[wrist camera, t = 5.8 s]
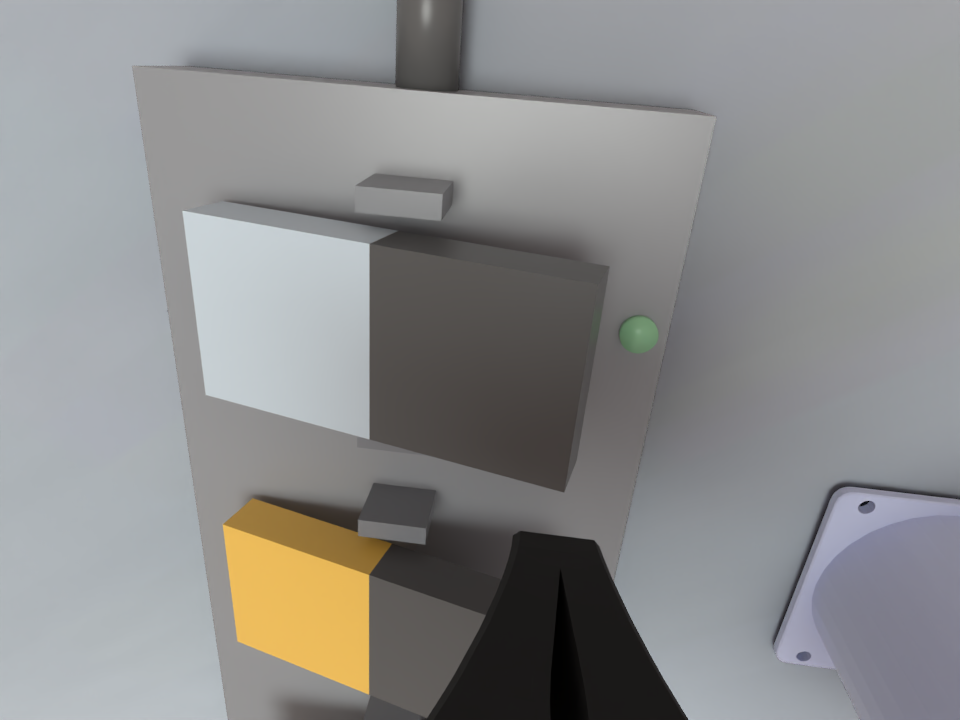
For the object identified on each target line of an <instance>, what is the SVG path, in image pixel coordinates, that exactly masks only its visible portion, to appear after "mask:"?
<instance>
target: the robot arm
mask: <svg viewBox="0 0 960 720" xmlns="http://www.w3.org/2000/svg"><path fill="white" fill-rule="evenodd" d="M864 501H869V502H868V504H866V505H864V506H859V505H860V504H861V503H862V502H864ZM773 649H774V652H775V654H776V656H777V658H778V659H779V660H780V661H782V662H785V663H791V664H799V665H806V666H814V667H821V668H829V669H836V670H837V673H838V675H839V677H840V679H841V681H842V683H843V685H844V687H845V689H846V691H847V694H848V696H849V698H850V700H851V702H852V704H853V706H854V708H855V710H856V712H857V714H858V717H859V719H860V720H960V500H959V499H951V498H943V497H934V496H926V495H917V494H909V493H900V492H892V491H883V490H875V489H867V488H858V487H844V488H841V489H839V490H837V491H836V492H834V494H833V495H832V497H831V499H830V502H829V504H828V507H827V510H826V512H825V515H824V517H823V520H822V522H821V525H820V528H819V530H818V533H817V535H816V538H815V540H814V543H813V546H812V548H811V551H810V553H809V556H808V558H807V561H806V563H805V566H804V569H803V571H802V574H801V576H800V579H799V581H798V584H797V587H796V589H795V592H794V594H793V597H792V599H791V602H790V605H789V607H788V610H787V612H786V615H785V617H784V620H783V623H782V625H781V628H780V630H779V633H778V635H777V638H776V640H775V643H774V647H773ZM803 651H804V652H803ZM426 720H688V718H687V717H686V715H685V713H684V712H683V710H682V709H681V707H680V705H679V704H678V702H677V700H676V699H675V697H674V695H673V694H672V692H671V690H670V689H669V687H668V685H667V684H666V682H665V680H664V679H663V677H662V675H661V673H660V672H659V670H658V668H657V666H656V665H655V663H654V661H653V659H652V657H651V656H650V654H649V652H648V650H647V648H646V646H645V644H644V642H643V641H642V639H641V637H640V635H639V633H638V631H637V629H636V627H635V625H634V624H633V622H632V620H631V618H630V616H629V613H628V611H627V609H626V607H625V605H624V603H623V601H622V599H621V597H620V595H619V592H618V590H617V588H616V586H615V584H614V581H613V579H612V577H611V574H610V572H609V570H608V567H607V565H606V562H605V560H604V557H603V555H602V552H601V549H600V546H599V545H598V544H597V543H596V542H595V540H590V539H582V538H574V537H566V536H558V535H550V534H542V533H534V532H527V531H519V532H518V533H516V534H514V535H513V538H512V546H511V550H510V554H509V558H508V562H507V565H506V568H505V571H504V574H503V576H502V579H501V581H500V584H499V587H498V589H497V592H496V594H495V596H494V598H493V600H492V603H491V605H490V607H489V609H488V611H487V613H486V616H485V618H484V620H483V622H482V624H481V626H480V628H479V630H478V632H477V634H476V636H475V638H474V640H473V642H472V643H471V645H470V647H469V649H468V651H467V652H466V654H465V656H464V658H463V660H462V662H461V663H460V665H459V667H458V669H457V671H456V672H455V674H454V676H453V678H452V679H451V681H450V682H449V684H448V686H447V687H446V689H445V691H444V692H443V694H442V696H441V697H440V699H439V700H438V702H437V703H436V705H435V707H434V708H433V710H432V711H431V713H430V714H429V716H428V717H427V719H426Z"/></svg>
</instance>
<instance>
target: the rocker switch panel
mask: <svg viewBox="0 0 960 720" xmlns="http://www.w3.org/2000/svg"><path fill="white" fill-rule="evenodd" d="M462 12H463V0H397V24H396V84H388V83H377V82H365V81H354V80H342V79H331V78H319V77H307V76H296V75H284V74H273V73H261V72H250V71H238V70H227V69H215V68H203V67H192V66H132V68H133V75H134V82H135V89H136V96H137V102H138V109H139V116H140V123H141V130H142V137H143V143H144V150H145V157H146V164H147V171H148V178H149V184H150V191H151V198H152V205H153V212H154V219H155V225H156V232H157V239H158V246H159V253H160V260H161V266H162V273H163V280H164V287H165V294H166V300H167V307H168V314H169V321H170V328H171V335H172V341H173V348H174V355H175V362H176V369H177V376H178V382H179V389H180V396H181V403H182V410H183V417H184V423H185V430H186V437H187V444H188V451H189V458H190V464H191V471H192V478H193V485H194V492H195V499H196V505H197V512H198V519H199V526H200V533H201V539H202V546H203V553H204V560H205V567H206V574H207V580H208V587H209V594H210V601H211V608H212V615H213V621H214V628H215V635H216V642H217V649H218V656H219V662H220V669H221V676H222V683H223V690H224V697H225V703H226V710H227V717H228V720H426V719H427V718H425V717H423V716H420V715H418V714H415V713H413V712H410V711H408V710H406V709H403V708H401V707H398V706H396V705H393V704H391V703H388V702H386V701H383V700H381V699H378V698H376V697H373V696H371V695H368V694H366V693H364V692H361V691H359V690H356V689H354V688H351V687H349V686H346V685H344V684H341V683H339V682H336V681H334V680H331V679H329V678H327V677H324V676H322V675H319V674H317V673H314V672H312V671H309V670H307V669H304V668H302V667H299V666H297V665H294V664H292V663H289V662H287V661H285V660H282V659H280V658H277V657H275V656H272V655H270V654H267V653H265V652H262V651H260V650H257V649H255V648H252V647H250V646H248V645H245V644H243V643H240V642H238V641H237V634H236V626H235V618H234V610H233V602H232V594H231V586H230V578H229V571H228V563H227V555H226V547H225V539H224V531H223V524H224V523H225V522H226V521H227V520H228V519H230V518H231V517H232V516H233V515H234V514H235V513H236V512H238V511H239V510H240V509H241V508H242V507H243V506H244V505H246V504H247V503H248V502H249V501H250V500H251V499H252V498H254V499H257V500H260V501H263V502H266V503H269V504H272V505H275V506H278V507H281V508H284V509H287V510H291V511H294V512H297V513H300V514H303V515H306V516H309V517H312V518H315V519H318V520H321V521H324V522H327V523H330V524H334V525H337V526H340V527H343V528H346V529H349V530H352V531H355V532H358V536H362V537H369V538H376V539H380V540H383V541H386V542H389V543H392V544H395V545H398V546H401V547H404V548H407V549H410V550H413V551H416V552H419V553H423V554H426V555H429V556H432V557H435V558H438V559H441V560H444V561H447V562H450V563H453V564H456V565H459V566H462V567H465V568H469V569H472V570H475V571H478V572H481V573H484V574H487V575H490V576H493V577H496V578H499V579H502V576H503V574H504V571H505V568H506V565H507V562H508V558H509V554H510V550H511V546H512V538H513V535H514V534H516V533H518V532H519V531H527V532H534V533H542V534H550V535H558V536H566V537H574V538H582V539H590V540H595V542H596V543H597V544H598V545H599V546H600V549H601V552H602V555H603V557H604V560H605V562H606V565H607V567H608V570H609V572H610V574H611V577H612V579H613V581H614V577H615V573H616V568H617V564H618V559H619V555H620V550H621V546H622V541H623V537H624V532H625V528H626V523H627V519H628V514H629V510H630V505H631V501H632V496H633V492H634V487H635V483H636V478H637V474H638V469H639V465H640V460H641V456H642V451H643V447H644V442H645V438H646V433H647V429H648V424H649V419H650V415H651V410H652V406H653V401H654V397H655V392H656V388H657V383H658V379H659V374H660V370H661V365H662V361H663V356H664V352H665V347H666V343H667V338H668V334H669V329H670V325H671V320H672V316H673V311H674V307H675V302H676V298H677V293H678V289H679V284H680V280H681V275H682V271H683V266H684V262H685V257H686V253H687V248H688V244H689V239H690V235H691V230H692V226H693V221H694V217H695V212H696V208H697V203H698V199H699V194H700V190H701V185H702V181H703V176H704V171H705V167H706V162H707V158H708V153H709V149H710V144H711V140H712V135H713V131H714V126H715V122H716V116H713V115H709V114H706V113H703V112H699V111H696V110H689V109H677V108H666V107H654V106H642V105H631V104H619V103H608V102H596V101H585V100H573V99H562V98H550V97H538V96H527V95H515V94H504V93H492V92H481V91H469V90H458V83H459V65H460V47H461V30H462ZM221 201H225V202H231V203H237V204H243V205H249V206H255V207H261V208H267V209H273V210H279V211H285V212H291V213H297V214H303V215H308V216H314V217H320V218H326V219H332V220H338V221H344V222H350V223H356V224H362V225H368V226H374V227H380V228H386V229H391V230H397V231H403V232H409V233H415V234H421V235H427V236H433V237H439V238H445V239H451V240H457V241H463V242H469V243H475V244H480V245H486V246H492V247H498V248H504V249H510V250H516V251H522V252H528V253H534V254H540V255H546V256H552V257H558V258H563V259H569V260H575V261H581V262H587V263H593V264H599V265H605V266H610V268H609V274H608V280H607V286H606V291H605V297H604V303H603V309H602V315H601V321H600V327H599V333H598V339H597V344H596V350H595V356H594V362H593V368H592V374H591V380H590V386H589V392H588V397H587V403H586V409H585V415H584V421H583V427H582V433H581V439H580V445H579V450H578V456H577V461H576V464H575V467H574V469H573V472H572V474H571V477H570V479H569V482H568V485H567V487H566V490H565V492H560V491H556V490H553V489H549V488H545V487H542V486H538V485H534V484H531V483H527V482H523V481H520V480H516V479H512V478H509V477H505V476H501V475H498V474H494V473H490V472H487V471H483V470H479V469H476V468H472V467H468V466H465V465H461V464H457V463H454V462H450V461H446V460H443V459H439V458H435V457H432V456H428V455H424V454H421V453H417V452H413V451H410V450H406V449H402V448H399V447H395V446H391V445H388V444H384V443H380V442H377V441H373V440H369V439H366V438H362V437H358V436H355V435H351V434H347V433H344V432H340V431H336V430H333V429H329V428H325V427H322V426H318V425H314V424H311V423H307V422H303V421H300V420H296V419H292V418H289V417H285V416H281V415H278V414H274V413H270V412H267V411H263V410H259V409H256V408H252V407H248V406H245V405H241V404H237V403H234V402H230V401H226V400H223V399H219V398H215V397H212V396H208V395H206V393H205V385H204V378H203V370H202V362H201V354H200V346H199V338H198V330H197V322H196V314H195V307H194V299H193V291H192V283H191V275H190V267H189V259H188V251H187V243H186V236H185V228H184V220H183V212H182V211H183V210H187V209H191V208H196V207H200V206H204V205H208V204H212V203H217V202H221Z"/></svg>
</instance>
